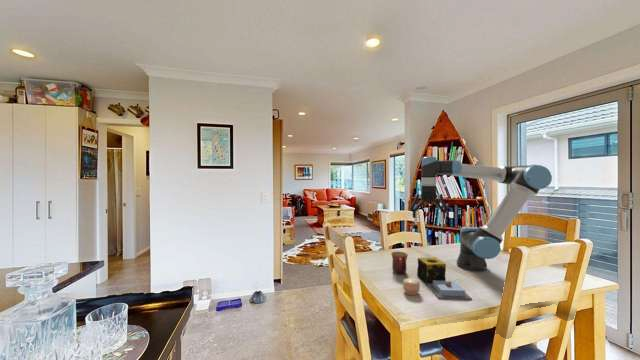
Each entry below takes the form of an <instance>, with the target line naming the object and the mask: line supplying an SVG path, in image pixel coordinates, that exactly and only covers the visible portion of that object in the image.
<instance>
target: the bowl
mask: <svg viewBox="0 0 640 360" xmlns="http://www.w3.org/2000/svg"><path fill="white" fill-rule="evenodd" d="M402 281H403V282H402V285H403V286H402V289H403V291H404V292H405V294H407V295H409V296H416V295H418V293H419V292H420V288H421V287H420V281H419V280H417V279H415V278H412V277H411V278H408V277H407V278H405V279H403V280H402Z"/></svg>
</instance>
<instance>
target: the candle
mask: <svg viewBox="0 0 640 360" xmlns="http://www.w3.org/2000/svg"><path fill="white" fill-rule="evenodd" d="M446 268H447V264H446V262H443V261H442V260H440V259H438V258H437V257H417V269H416V270H417V272H416V273H417V274H416V277H418V279H420V280H422V282H424V283H425V284H426V285H427V283H432V284H433V280H437V281H447V279H446V271H447V269H446Z"/></svg>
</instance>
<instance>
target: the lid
mask: <svg viewBox="0 0 640 360" xmlns="http://www.w3.org/2000/svg"><path fill="white" fill-rule="evenodd" d="M433 286H434V287H435V288H436V290H437V291H438V292H439V293H440V294H441V295H445V296H465V293H466V290H465V289H464V288H463V287H462V286H460V285H459V284H458V283H457V282H456V281H455V280H445V281H437V280H433Z"/></svg>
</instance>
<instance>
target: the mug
mask: <svg viewBox="0 0 640 360" xmlns="http://www.w3.org/2000/svg"><path fill="white" fill-rule="evenodd" d="M390 254H391V258H392V264H391V265H392V267H391V268H392V272H393V273H394V274H396V275H405V274H406V273H407V260H408V256H409V254H408V253H407V252H404V251H391V253H390Z"/></svg>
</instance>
